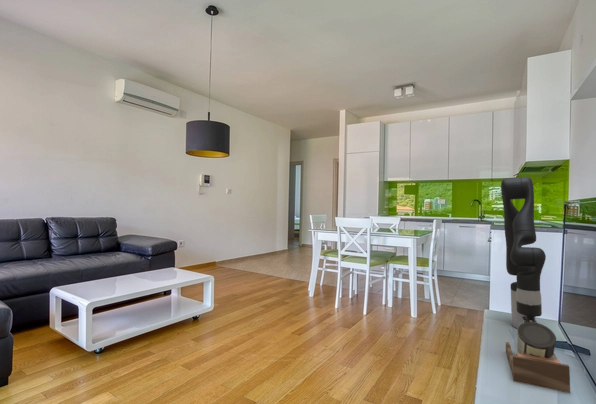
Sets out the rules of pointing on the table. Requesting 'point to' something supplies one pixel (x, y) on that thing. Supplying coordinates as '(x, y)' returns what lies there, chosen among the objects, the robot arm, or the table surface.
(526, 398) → the table surface
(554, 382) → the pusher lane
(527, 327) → the coffee can
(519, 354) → the pusher paddle
